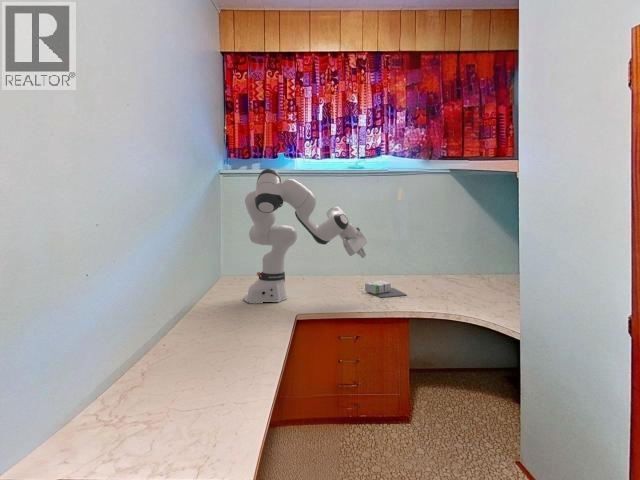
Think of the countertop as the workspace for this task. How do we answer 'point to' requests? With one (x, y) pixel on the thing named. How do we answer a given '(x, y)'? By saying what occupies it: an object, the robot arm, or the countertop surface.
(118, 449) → the countertop surface
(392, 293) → the mat
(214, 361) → the countertop surface
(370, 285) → the ink box
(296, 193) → the robot arm
